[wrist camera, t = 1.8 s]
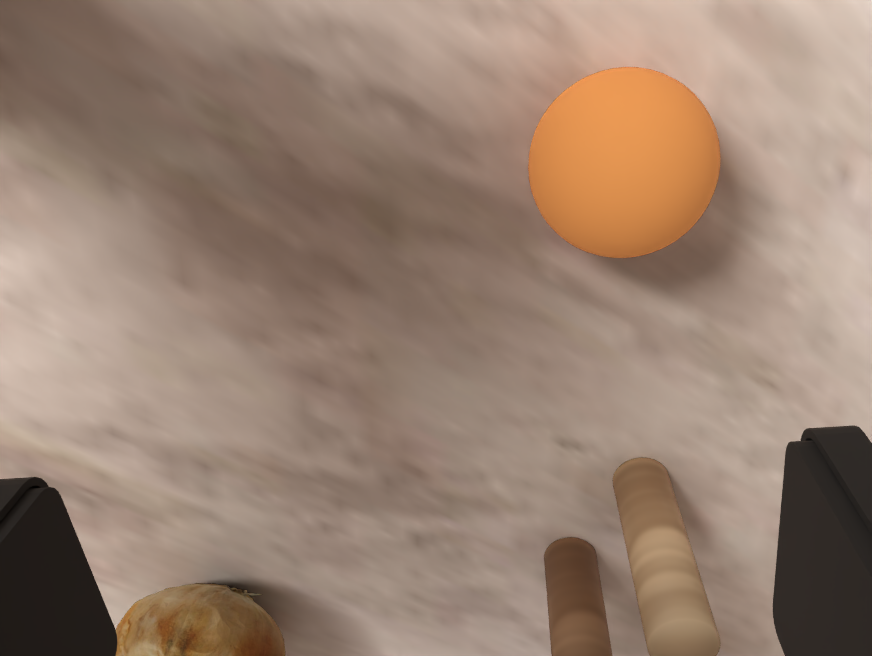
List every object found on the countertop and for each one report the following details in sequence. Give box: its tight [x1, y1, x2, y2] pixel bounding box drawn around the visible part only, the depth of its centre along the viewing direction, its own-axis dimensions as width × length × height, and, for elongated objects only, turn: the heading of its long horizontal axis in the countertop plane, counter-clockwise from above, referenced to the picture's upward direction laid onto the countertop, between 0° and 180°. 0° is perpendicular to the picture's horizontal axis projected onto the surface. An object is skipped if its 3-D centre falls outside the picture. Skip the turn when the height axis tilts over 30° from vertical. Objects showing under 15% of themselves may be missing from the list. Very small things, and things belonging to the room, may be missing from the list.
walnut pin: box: [544, 537, 612, 656], centre depth 33 cm, size 2×2×9 cm
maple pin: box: [613, 458, 720, 656], centre depth 31 cm, size 2×2×9 cm
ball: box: [528, 67, 720, 258], centre depth 26 cm, size 6×6×6 cm
